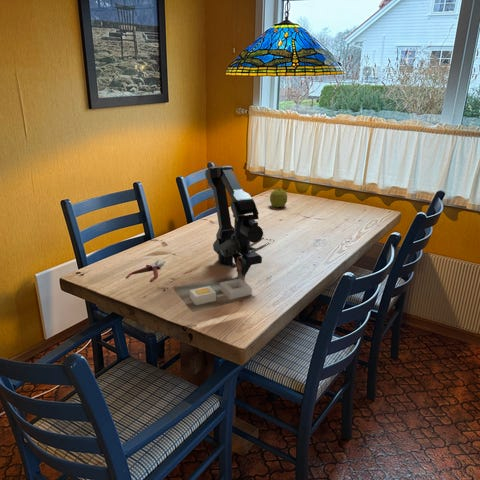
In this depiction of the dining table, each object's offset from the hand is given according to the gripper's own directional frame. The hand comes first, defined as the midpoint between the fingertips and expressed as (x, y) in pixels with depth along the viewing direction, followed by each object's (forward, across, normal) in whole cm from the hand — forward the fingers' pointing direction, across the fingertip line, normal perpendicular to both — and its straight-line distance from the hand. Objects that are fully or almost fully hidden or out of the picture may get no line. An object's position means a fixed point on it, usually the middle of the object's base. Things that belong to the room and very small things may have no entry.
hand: (241, 273), depth 159 cm
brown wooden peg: (+3, 0, 0) cm, 3 cm away
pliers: (+4, -19, -27) cm, 33 cm away
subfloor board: (+3, +6, -14) cm, 16 cm away
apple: (+3, -74, +63) cm, 97 cm away
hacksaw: (+4, -30, +23) cm, 38 cm away
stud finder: (+2, +9, -19) cm, 21 cm away
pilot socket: (+2, +9, -7) cm, 12 cm away
